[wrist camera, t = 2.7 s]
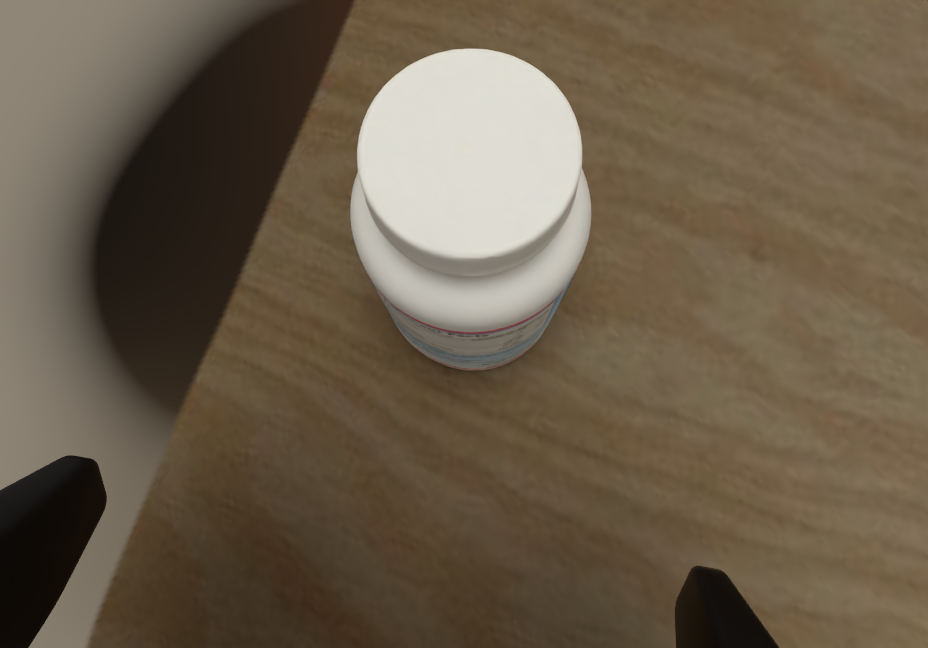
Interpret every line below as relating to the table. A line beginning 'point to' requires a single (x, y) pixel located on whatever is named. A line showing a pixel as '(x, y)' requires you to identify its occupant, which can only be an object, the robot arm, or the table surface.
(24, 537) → the robot arm
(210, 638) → the table surface
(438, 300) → the pill bottle
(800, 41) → the table surface
